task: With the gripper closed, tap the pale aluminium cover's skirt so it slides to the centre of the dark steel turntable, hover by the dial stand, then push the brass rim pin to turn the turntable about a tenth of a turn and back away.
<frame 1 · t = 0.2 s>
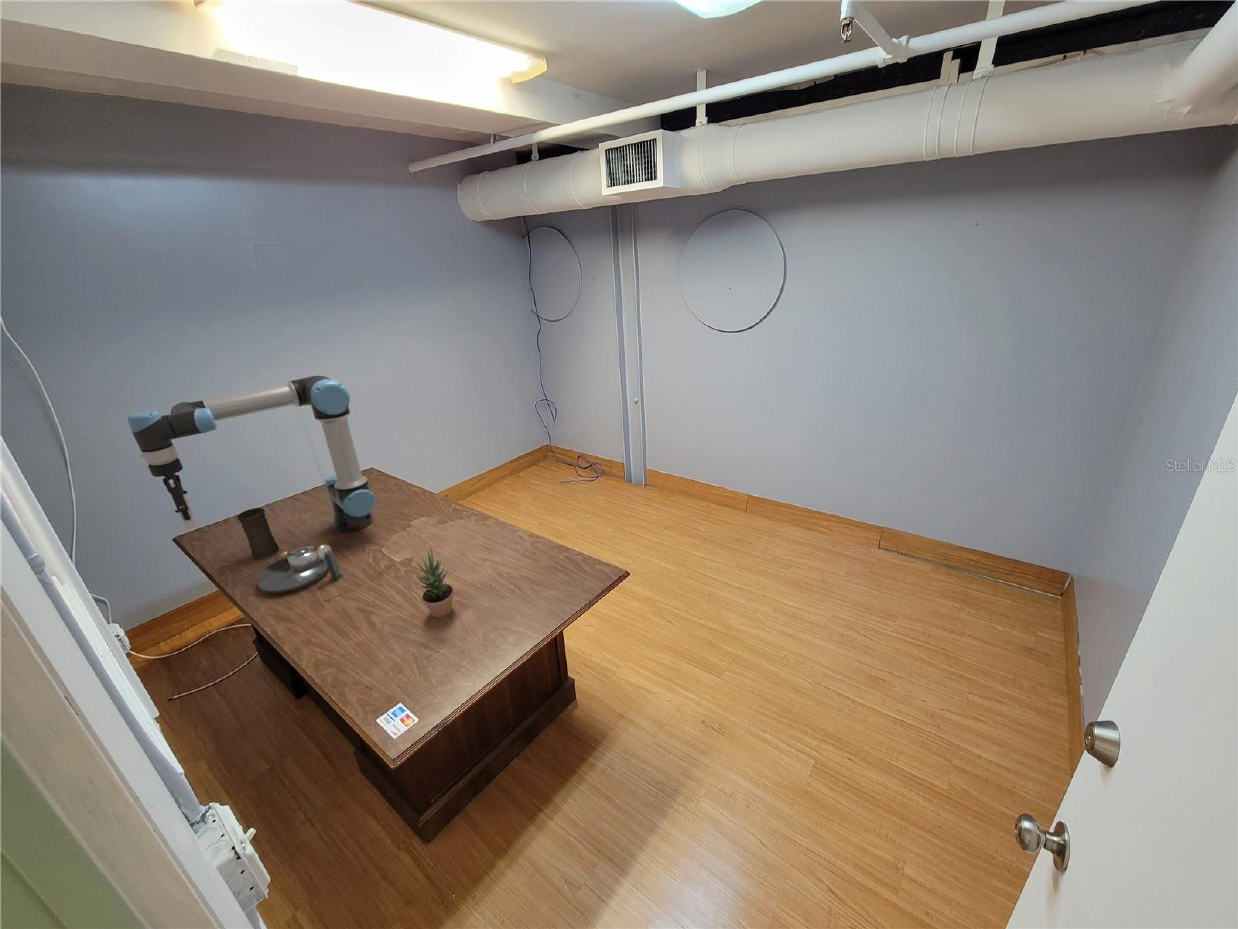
hand: (189, 520, 161), 28 cm above the table, fingers open, 13 cm apart
turntable: (292, 568, 176), point 4 cm above the table, hinge at 0.0°, touching cover
dial stand: (336, 578, 176), on the table
potted plant: (442, 611, 158), on the table
cover: (305, 564, 179), point 3 cm above the table, touching turntable
container: (266, 553, 193), on the table
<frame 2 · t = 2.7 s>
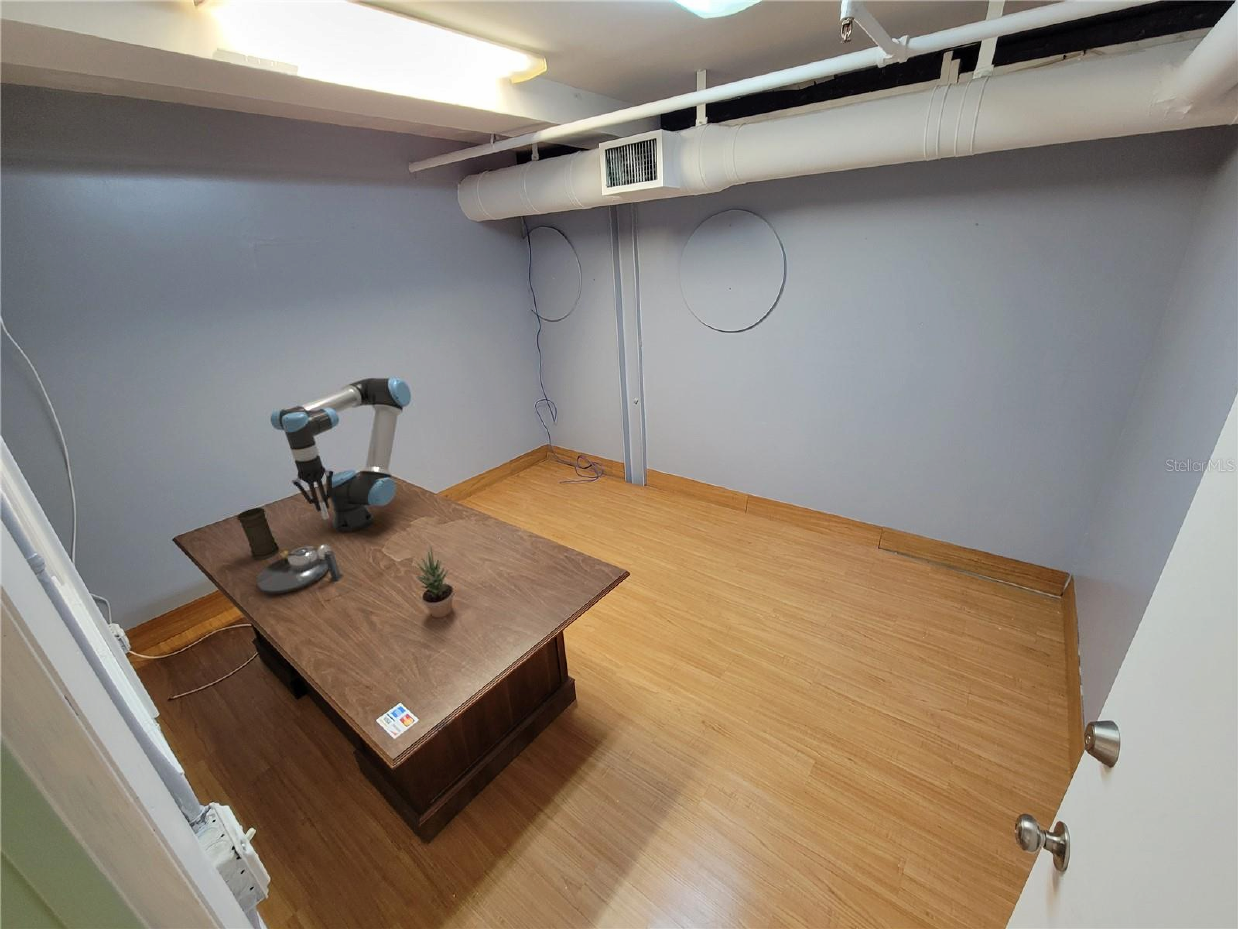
hand: (325, 517, 180), 18 cm above the table, fingers closed
nothing on the table moved.
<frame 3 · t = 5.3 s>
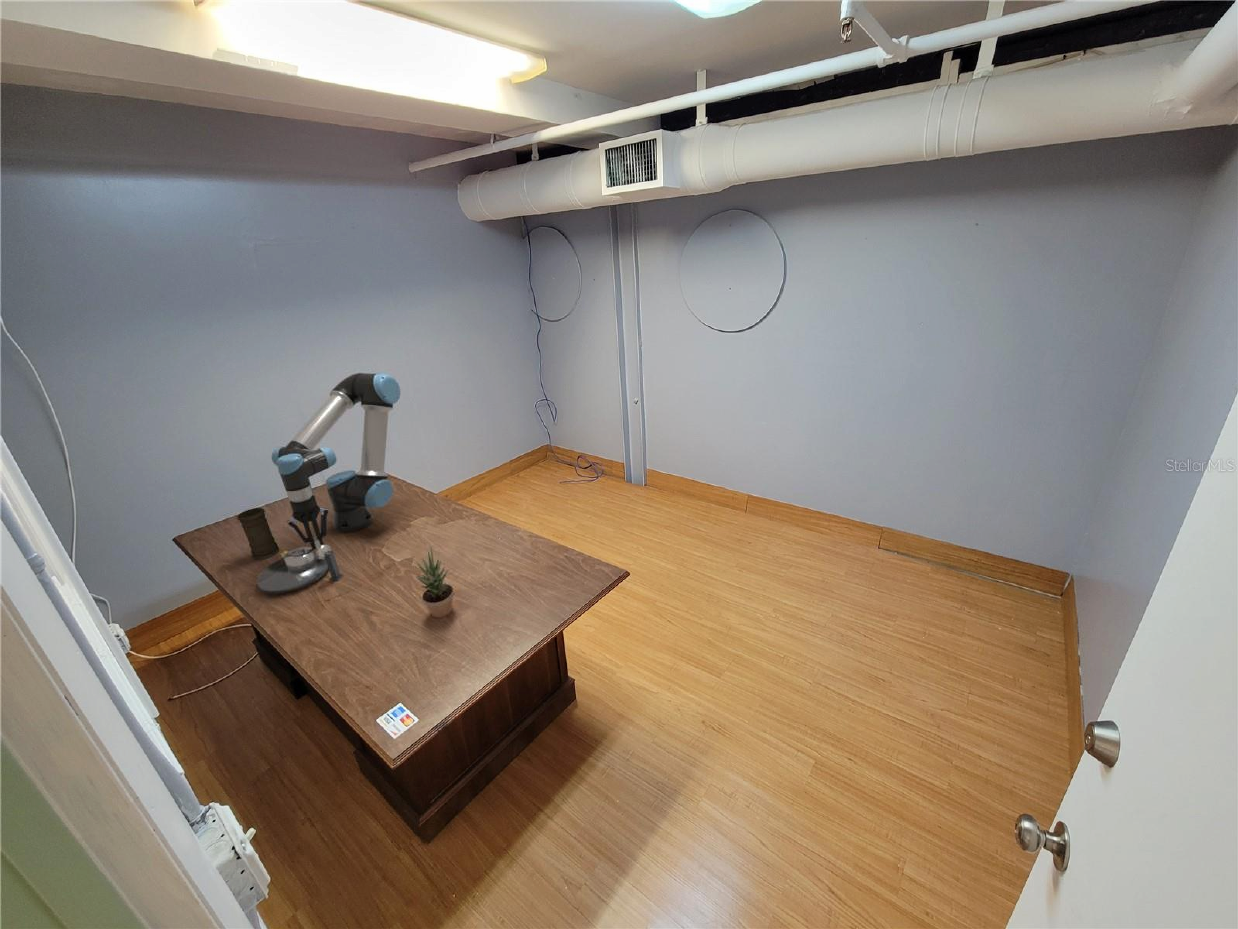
hand: (320, 555, 182), 5 cm above the table, fingers closed
cover: (302, 565, 178), point 3 cm above the table, touching gripper, turntable
everything else where it was.
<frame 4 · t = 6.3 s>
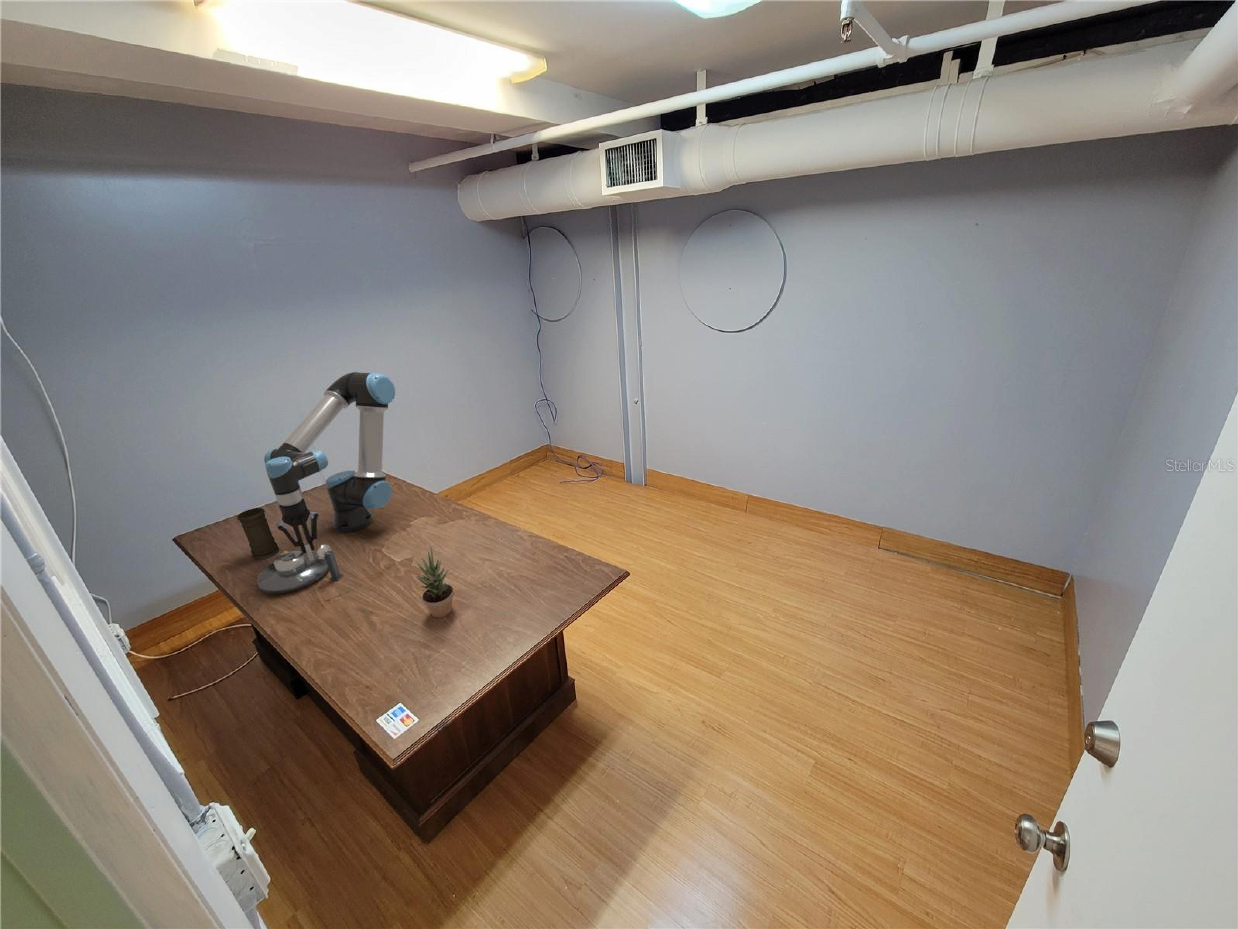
hand: (311, 558, 180), 5 cm above the table, fingers closed
cover: (292, 569, 176), point 3 cm above the table, touching gripper, turntable
everything else where it was.
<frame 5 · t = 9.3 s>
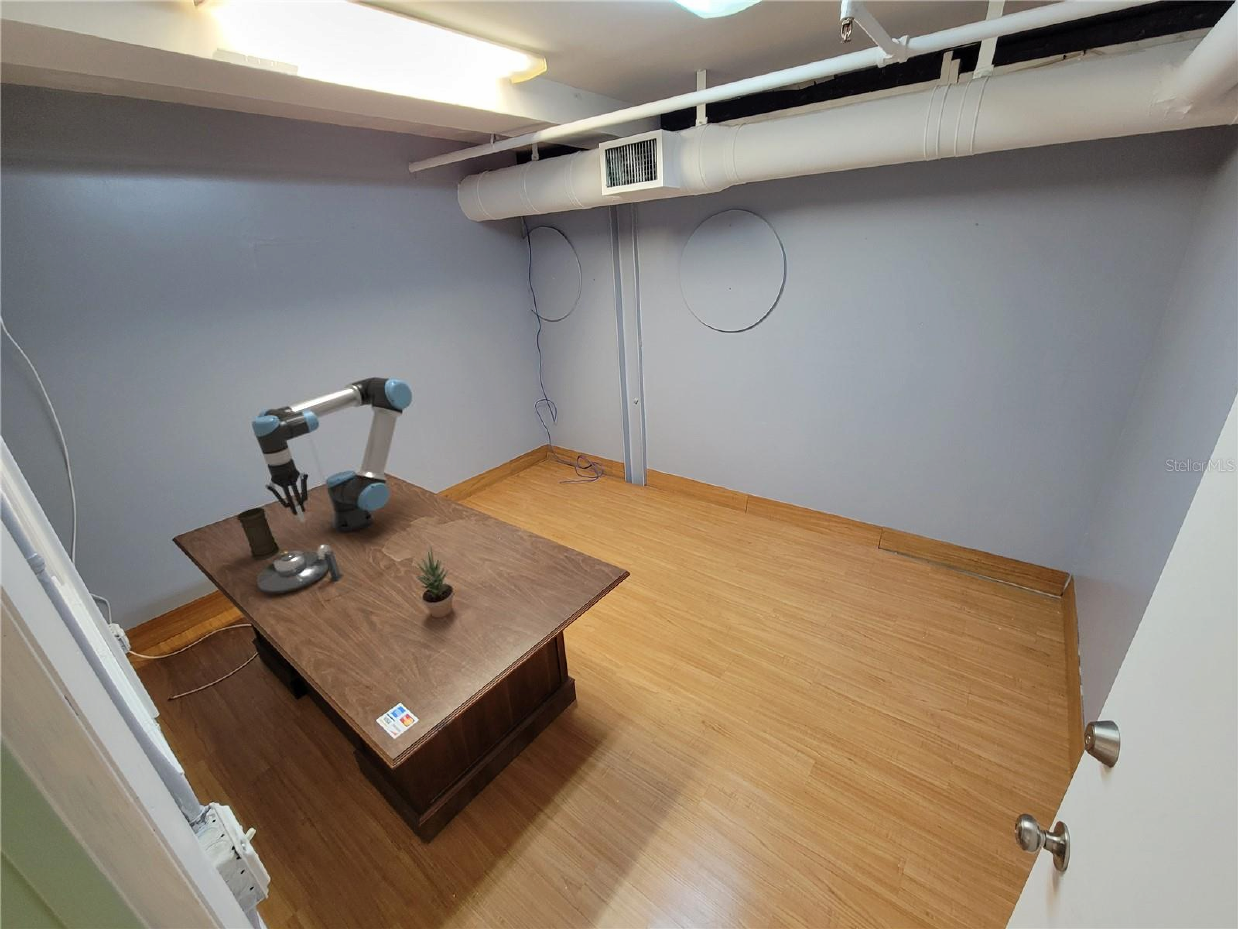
hand: (302, 520, 178), 18 cm above the table, fingers closed
cover: (292, 569, 176), point 3 cm above the table, touching turntable
everything else where it was.
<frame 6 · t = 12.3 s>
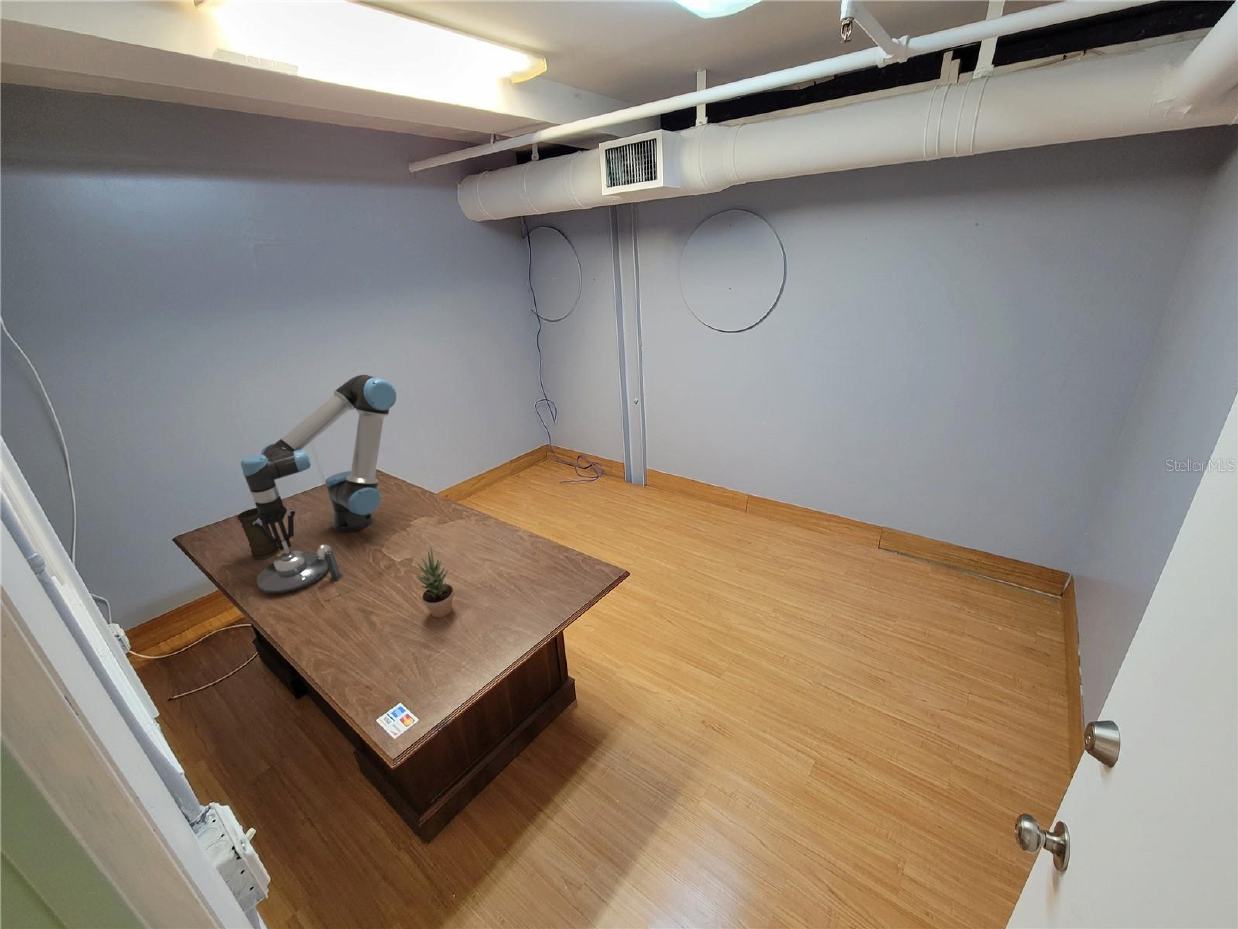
hand: (288, 555, 182), 5 cm above the table, fingers closed
turntable: (292, 568, 176), point 4 cm above the table, hinge at 6.1°, touching cover, gripper
everything else where it was.
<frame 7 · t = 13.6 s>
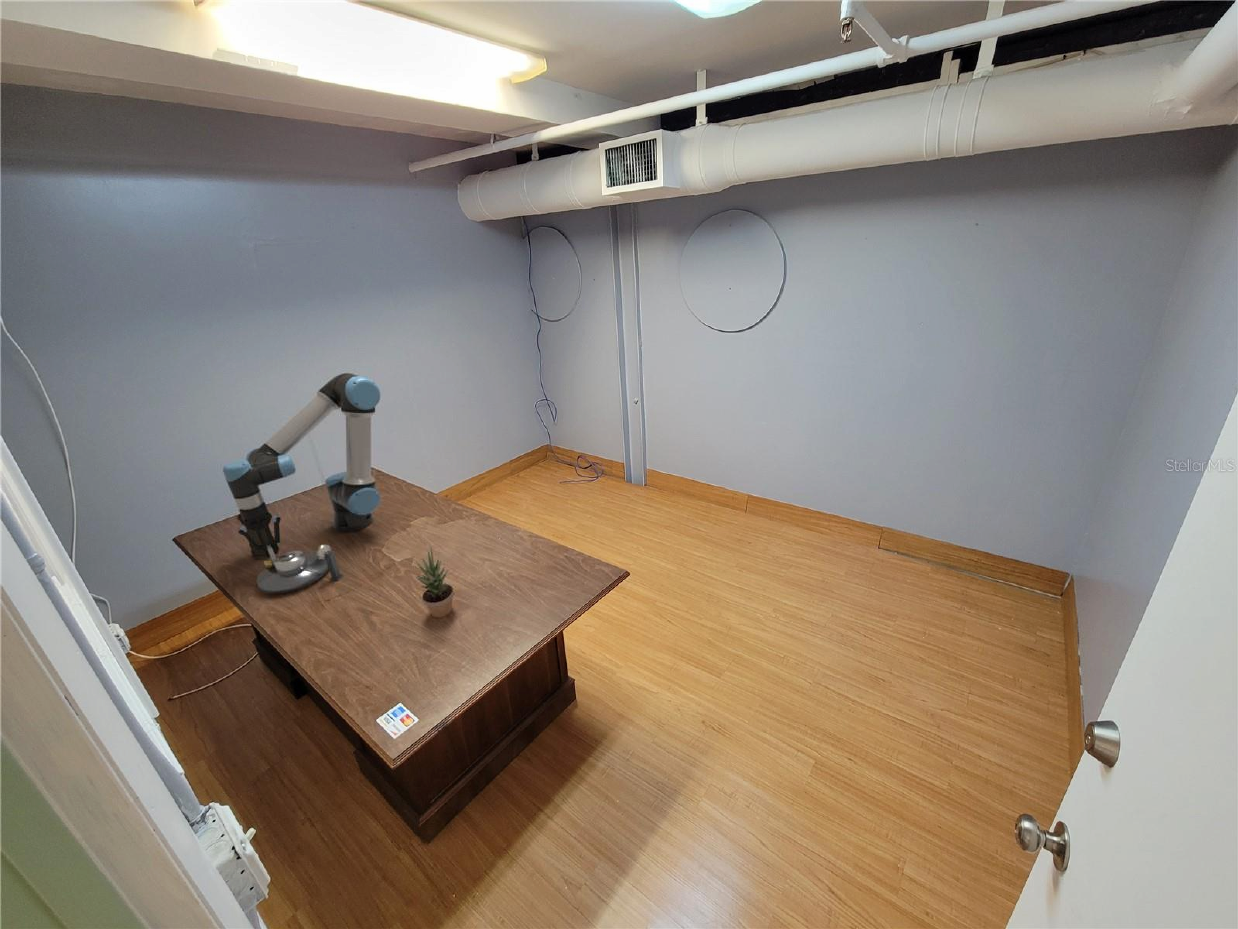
hand: (275, 562, 179), 4 cm above the table, fingers closed
turntable: (292, 568, 176), point 4 cm above the table, hinge at 35.7°, touching cover, gripper
everything else where it was.
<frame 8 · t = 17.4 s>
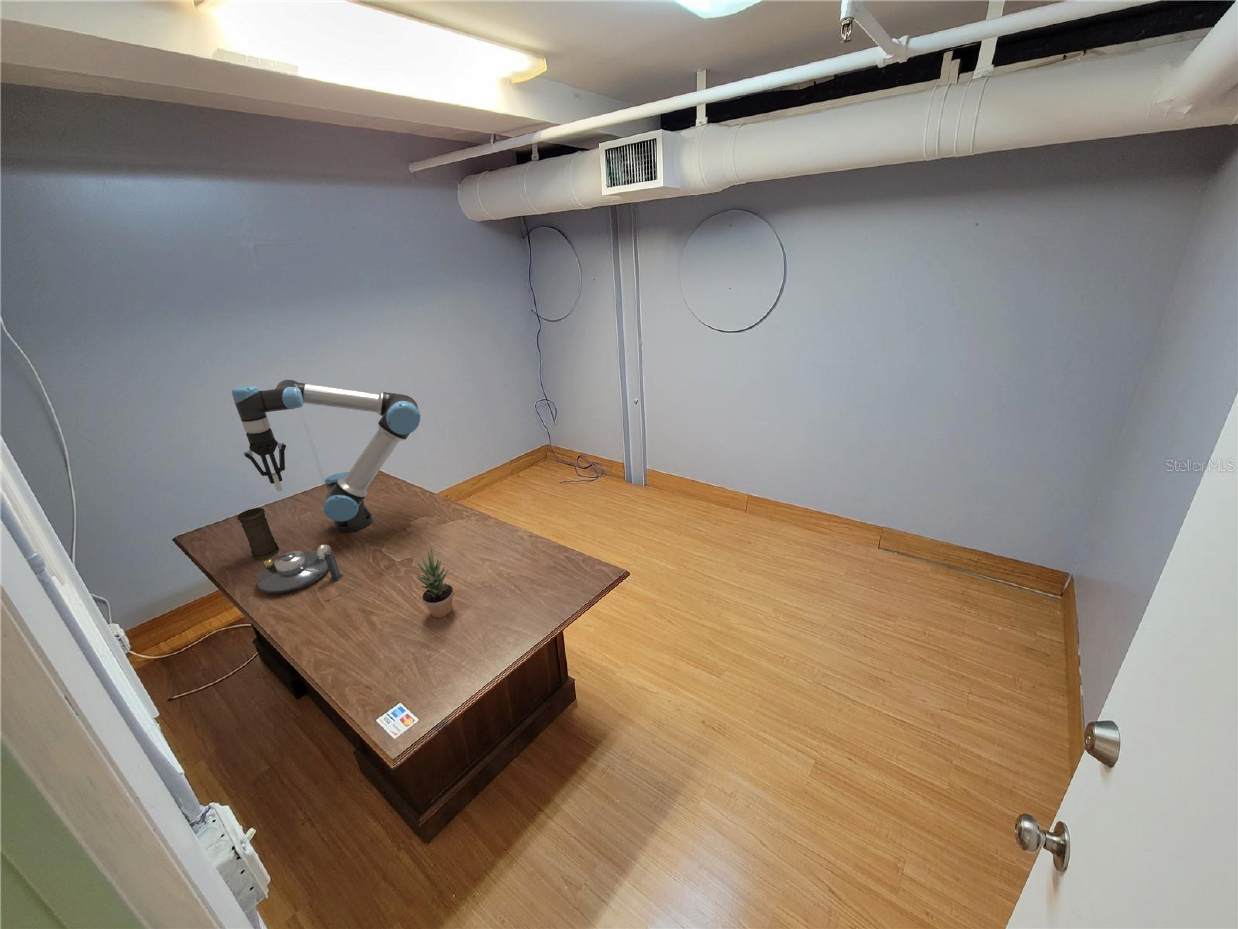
hand: (279, 490, 184), 26 cm above the table, fingers closed
turntable: (292, 568, 176), point 4 cm above the table, hinge at 35.7°, touching cover
everything else where it was.
at the end: cover 0.3 cm from the turntable (horizontally); turntable at +36° (first picture: +0°); cover tilted 0° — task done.
